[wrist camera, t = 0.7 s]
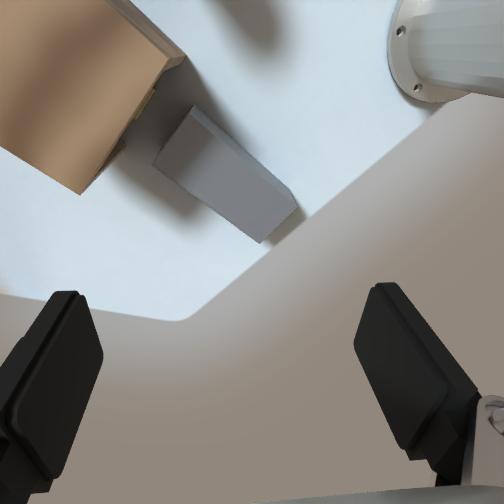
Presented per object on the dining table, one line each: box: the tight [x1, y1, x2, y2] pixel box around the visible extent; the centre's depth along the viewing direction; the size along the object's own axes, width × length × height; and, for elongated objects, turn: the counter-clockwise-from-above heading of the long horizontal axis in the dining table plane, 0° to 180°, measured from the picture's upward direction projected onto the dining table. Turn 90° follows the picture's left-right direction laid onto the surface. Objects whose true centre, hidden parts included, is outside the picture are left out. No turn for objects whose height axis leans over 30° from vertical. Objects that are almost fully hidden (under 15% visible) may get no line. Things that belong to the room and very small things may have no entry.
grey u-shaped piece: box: [152, 105, 297, 244], centre depth 33 cm, size 14×6×5 cm, turn 48°
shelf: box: [0, 0, 186, 195], centre depth 25 cm, size 8×12×12 cm
